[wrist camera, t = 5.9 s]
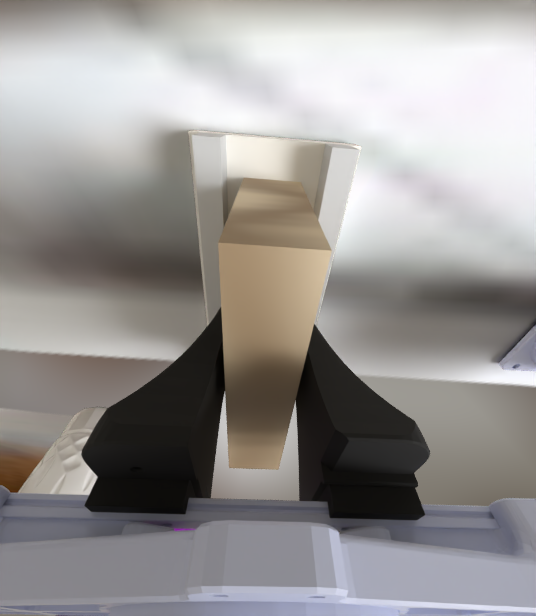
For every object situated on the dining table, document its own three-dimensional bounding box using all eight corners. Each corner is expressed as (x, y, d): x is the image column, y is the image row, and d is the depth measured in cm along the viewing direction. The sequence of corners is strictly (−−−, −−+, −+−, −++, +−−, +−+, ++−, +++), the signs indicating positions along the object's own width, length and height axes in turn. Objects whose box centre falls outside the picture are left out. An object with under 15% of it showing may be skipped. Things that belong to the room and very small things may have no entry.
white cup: (101, 445, 29) (38, 571, 21) (50, 408, 24) (-57, 552, 16) (165, 437, 28) (123, 568, 20) (123, 397, 23) (47, 546, 15)
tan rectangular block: (300, 182, 11) (331, 250, 6) (275, 362, 18) (278, 469, 13) (243, 177, 11) (218, 242, 6) (241, 360, 18) (229, 467, 13)
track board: (354, 144, 11) (373, 151, 9) (302, 366, 20) (305, 393, 18) (194, 129, 11) (177, 133, 9) (213, 362, 20) (207, 389, 18)
